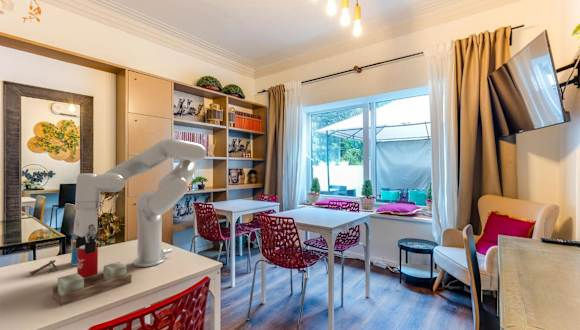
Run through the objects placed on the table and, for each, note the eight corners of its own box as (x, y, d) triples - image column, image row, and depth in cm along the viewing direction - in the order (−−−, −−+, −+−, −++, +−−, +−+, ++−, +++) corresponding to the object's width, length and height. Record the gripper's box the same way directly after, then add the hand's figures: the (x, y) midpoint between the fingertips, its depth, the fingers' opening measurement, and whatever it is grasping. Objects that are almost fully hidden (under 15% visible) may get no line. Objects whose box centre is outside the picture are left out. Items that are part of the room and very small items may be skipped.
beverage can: (84, 273, 104) (85, 243, 104) (101, 273, 104) (101, 243, 104) (73, 280, 97) (73, 248, 97) (90, 280, 98) (91, 248, 98)
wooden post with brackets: (60, 268, 106) (54, 259, 105) (35, 281, 101) (28, 272, 100) (60, 267, 108) (54, 258, 106) (35, 280, 103) (28, 271, 101)
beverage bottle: (67, 262, 114) (68, 217, 114) (91, 257, 121) (91, 214, 121) (73, 267, 109) (74, 220, 109) (97, 262, 116) (98, 217, 116)
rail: (119, 275, 103) (119, 260, 103) (131, 282, 97) (131, 266, 97) (52, 295, 86) (52, 277, 86) (61, 305, 80) (61, 286, 80)
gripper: (68, 203, 102) (65, 247, 102) (83, 209, 92) (81, 257, 92) (91, 202, 108) (88, 243, 108) (108, 207, 98) (105, 252, 98)
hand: (85, 249), depth 100 cm, fingers open, 9 cm apart
